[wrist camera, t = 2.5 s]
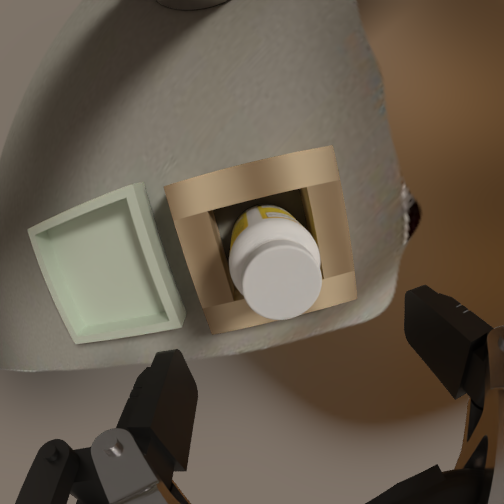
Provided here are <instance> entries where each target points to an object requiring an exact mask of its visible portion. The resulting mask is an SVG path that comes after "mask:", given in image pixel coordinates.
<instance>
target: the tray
mask: <svg viewBox="0 0 504 504" xmlns="http://www.w3.org/2000/svg"><path fill="white" fill-rule="evenodd" d="M27 231H28V234H29V237H30V240H31V243H32V246H33V249H34V252H35V255H36V258H37V261H38V264H39V266H40V269H41V272H42V274H43V277H44V279H45V282H46V284H47V286H48V289H49V291H50V294H51V296H52V298H53V300H54V303H55V305H56V307H57V309H58V311H59V313H60V315H61V317H62V319H63V321H64V324H65V325H66V327H67V329H68V331H69V333H70V335H71V337H72V339H73V341H74V343H75V344H81V343H89V342H97V341H104V340H111V339H118V338H124V337H131V336H137V335H143V334H149V333H155V332H161V331H166V330H172V329H177V328H182V326H183V323H184V320H185V317H186V314H187V312H186V309H185V307H184V304H183V302H182V299H181V296H180V294H179V291H178V288H177V285H176V283H175V280H174V277H173V274H172V271H171V268H170V266H169V263H168V260H167V257H166V254H165V251H164V248H163V245H162V242H161V239H160V235H159V232H158V229H157V226H156V223H155V219H154V216H153V213H152V209H151V206H150V202H149V199H148V195H147V192H146V188H145V185H144V182H141V183H135V184H131V185H128V186H126V187H123V188H120V189H118V190H115V191H112V192H110V193H107V194H105V195H102V196H100V197H97V198H95V199H92V200H90V201H87V202H85V203H83V204H80V205H78V206H76V207H73V208H71V209H69V210H67V211H64V212H62V213H60V214H58V215H56V216H53V217H51V218H49V219H47V220H45V221H43V222H41V223H39V224H37V225H35V226H33V227H31V228H29V229H27Z"/></svg>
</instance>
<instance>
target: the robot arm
mask: <svg viewBox="0 0 504 504" xmlns="http://www.w3.org/2000/svg"><path fill="white" fill-rule="evenodd" d="M156 1H157V2H159V3H160V4H162V5H164V6H166V7H169V8H173V9H179V10H195V9H203V8H207V7H211V6H215V5H218V4H220V3H223V2H225V1H227V0H156ZM404 331H405V336H406V339H407V341H408V343H409V344H410V345H411V347H412V348H413V349H414V350H415V351H416V352H417V354H418V355H419V356H420V357H421V358H422V360H423V361H424V362H425V363H426V364H427V366H428V367H429V368H430V369H431V370H432V372H433V373H434V374H435V375H436V376H437V378H438V379H439V380H440V381H441V383H442V384H443V385H444V386H445V388H446V389H447V390H448V391H449V392H450V394H451V395H452V396H453V398H454V399H457V398H459V397H461V396H462V395H464V394H466V393H467V394H468V395H469V396H470V397H469V400H468V403H467V413H466V422H465V430H464V437H463V444H462V449H461V452H460V455H459V458H458V460H457V463H456V466H455V468H454V470H450V471H444V472H441V470H440V468H439V466H438V465H435V466H433V467H431V468H429V469H427V470H425V471H423V472H421V473H419V474H417V475H415V476H413V477H411V478H408V479H406V480H404V481H402V482H399V483H397V484H396V485H394V486H393V487H391V488H390V489H388V490H387V491H385V492H384V493H382V494H380V495H379V496H377V497H376V498H374V499H372V500H371V501H369V502H367V503H365V504H504V326H500V327H496V328H492V327H491V326H490V325H488V324H487V323H486V322H485V321H483V320H482V319H481V318H479V317H478V316H477V315H475V314H474V313H473V312H471V311H468V309H467V308H466V307H465V306H463V305H462V306H461V304H460V303H459V302H458V301H456V300H455V299H454V298H452V297H449V296H446V295H443V294H440V293H439V294H438V293H437V292H435V291H434V290H432V289H431V288H429V287H428V286H427V285H423V286H420V287H417V288H415V289H412V290H409V291H407V292H406V294H405V319H404ZM197 400H198V390H197V386H196V383H195V380H194V378H193V376H192V374H191V372H190V370H189V368H188V366H187V364H186V361H185V359H184V357H183V355H182V353H181V352H180V350H178V349H175V350H168V351H162V352H157V353H156V355H155V358H154V360H153V362H152V365H151V367H147V368H146V369H145V370H144V371H143V372H142V373H141V374H140V375H139V376H138V378H137V380H136V382H135V384H134V387H133V390H132V392H131V393H130V398H129V399H128V400H127V403H126V405H125V407H124V410H123V412H122V415H121V417H120V419H119V422H118V424H117V427H116V428H114V429H110V430H107V431H105V432H103V433H101V434H100V435H99V436H98V437H97V438H96V439H95V440H94V442H93V444H92V446H91V447H89V448H83V449H77V450H72V448H71V447H70V446H69V445H68V444H67V443H66V442H65V441H63V440H60V439H54V440H51V441H49V442H47V443H45V444H44V445H43V446H42V447H41V448H40V449H39V451H38V453H37V455H36V457H35V459H34V461H33V464H32V466H31V468H30V470H29V472H28V474H27V477H26V479H25V481H24V484H23V486H22V488H21V491H20V493H19V496H18V498H17V500H16V503H15V504H67V500H68V497H69V494H71V495H72V496H74V497H75V498H76V499H77V502H76V504H191V503H190V502H189V500H188V499H187V498H186V497H185V495H184V494H183V493H182V492H181V490H180V489H179V487H178V486H177V485H176V483H175V482H174V481H173V480H172V477H173V472H174V471H186V470H187V463H188V457H189V450H190V443H191V437H192V431H193V424H194V418H195V412H196V406H197Z"/></svg>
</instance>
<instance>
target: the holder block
mask: <svg viewBox="0 0 504 504" xmlns="http://www.w3.org/2000/svg"><path fill="white" fill-rule="evenodd" d="M295 189H299V190H300V194H301V199H302V203H303V208H304V213H305V218H306V223H307V228H308V232H309V233H310V234H311V236H312V237H313V239H314V240H315V242H316V244H317V246H318V249H319V253H320V261H321V263H320V270H321V275H322V286H321V290H320V293H319V296H318V298H317V300H316V301H315V302H314V304H313V305H312V306H311V307H310V308H309V309H308V310H307V311H305V312H304V313H302V314H305V313H309V312H312V311H316V310H320V309H323V308H327V307H331V306H334V305H338V304H341V303H344V302H348V301H351V300H355V299H357V291H356V281H355V272H354V264H353V256H352V248H351V241H350V234H349V227H348V221H347V215H346V209H345V203H344V198H343V192H342V187H341V182H340V177H339V172H338V167H337V162H336V158H335V153H334V149H333V145H332V146H326V147H320V148H315V149H310V150H304V151H299V152H294V153H290V154H285V155H280V156H276V157H271V158H267V159H262V160H258V161H254V162H250V163H246V164H241V165H238V166H234V167H230V168H226V169H222V170H218V171H215V172H211V173H207V174H204V175H200V176H197V177H193V178H190V179H187V180H183V181H180V182H177V183H174V184H170V185H167V186H164V190H165V193H166V197H167V200H168V204H169V207H170V211H171V214H172V217H173V221H174V224H175V227H176V231H177V234H178V237H179V240H180V244H181V247H182V250H183V253H184V256H185V259H186V262H187V265H188V268H189V271H190V274H191V277H192V280H193V283H194V286H195V289H196V292H197V295H198V297H199V300H200V303H201V306H202V309H203V311H204V314H205V317H206V320H207V322H208V325H209V328H210V330H211V333H212V335H214V334H219V333H224V332H229V331H233V330H238V329H243V328H247V327H252V326H256V325H260V324H265V323H269V322H273V321H277V320H273V319H268V318H265V317H262V316H261V315H259V314H257V313H256V312H255V311H253V310H252V309H251V308H250V307H249V305H248V304H247V302H246V300H245V298H244V296H243V295H242V294H241V293H240V292H239V290H238V289H237V288H236V286H235V285H234V283H233V280H232V278H231V274H230V269H229V265H228V261H227V258H226V254H225V251H224V247H223V244H222V240H221V237H220V233H219V230H218V226H217V222H216V219H215V215H214V212H213V210H214V209H218V208H222V207H225V206H229V205H233V204H237V203H241V202H245V201H249V200H253V199H257V198H261V197H265V196H269V195H274V194H278V193H282V192H286V191H291V190H295Z"/></svg>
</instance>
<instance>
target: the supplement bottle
mask: <svg viewBox="0 0 504 504" xmlns="http://www.w3.org/2000/svg"><path fill="white" fill-rule="evenodd" d="M320 263H321V261H320V253H319V249H318V246H317V244H316V242H315V240H314V239H313V237H312V236H311V234H310V233H309V232H308V231H307V230H306V229H305V228H304V227H303V226H302V225H301V224H300V223H299V222H298V221H297V220H296V219H295V218H294V217H293V216H292V215H291V214H290V213H289V212H287V211H286V210H284V209H283V208H281V207H278V206H275V205H271V204H260V205H256V206H253V207H251V208H249V209H247V210H246V211H244V212H243V213H242V214H241V215H240V216H239V217H238V219H237V220H236V222H235V224H234V227H233V230H232V235H231V245H230V255H229V269H230V274H231V278H232V280H233V283H234V284H235V286H236V288H237V289H238V290H239V292H240V293H241V294H242V295H243V296H244V298H245V300H246V302H247V304H248V305H249V307H250V308H251V309H252V310H253V311H255V312H256V313H257V314H259V315H261V316H262V317H265V318H268V319H273V320H286V319H291V318H294V317H297V316H299V315H301V314H302V313H304V312H305V311H307V310H308V309H309V308H310V307H311V306H312V305H313V304H314V302H315V301H316V300H317V298H318V296H319V293H320V290H321V286H322V275H321V270H320Z"/></svg>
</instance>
